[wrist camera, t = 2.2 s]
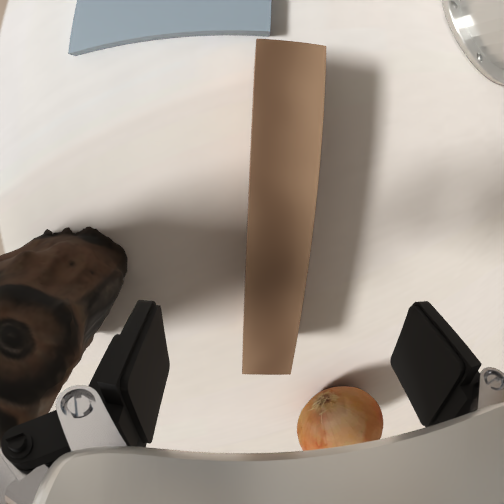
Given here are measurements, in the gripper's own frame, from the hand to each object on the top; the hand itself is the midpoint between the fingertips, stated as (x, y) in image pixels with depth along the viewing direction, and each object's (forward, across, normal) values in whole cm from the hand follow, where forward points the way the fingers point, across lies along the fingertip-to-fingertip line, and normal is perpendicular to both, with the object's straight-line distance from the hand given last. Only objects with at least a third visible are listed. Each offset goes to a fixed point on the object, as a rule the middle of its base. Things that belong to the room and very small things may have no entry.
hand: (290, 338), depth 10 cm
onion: (+15, -10, +21) cm, 28 cm away
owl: (+15, +18, +6) cm, 24 cm away
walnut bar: (+14, -1, -1) cm, 14 cm away
